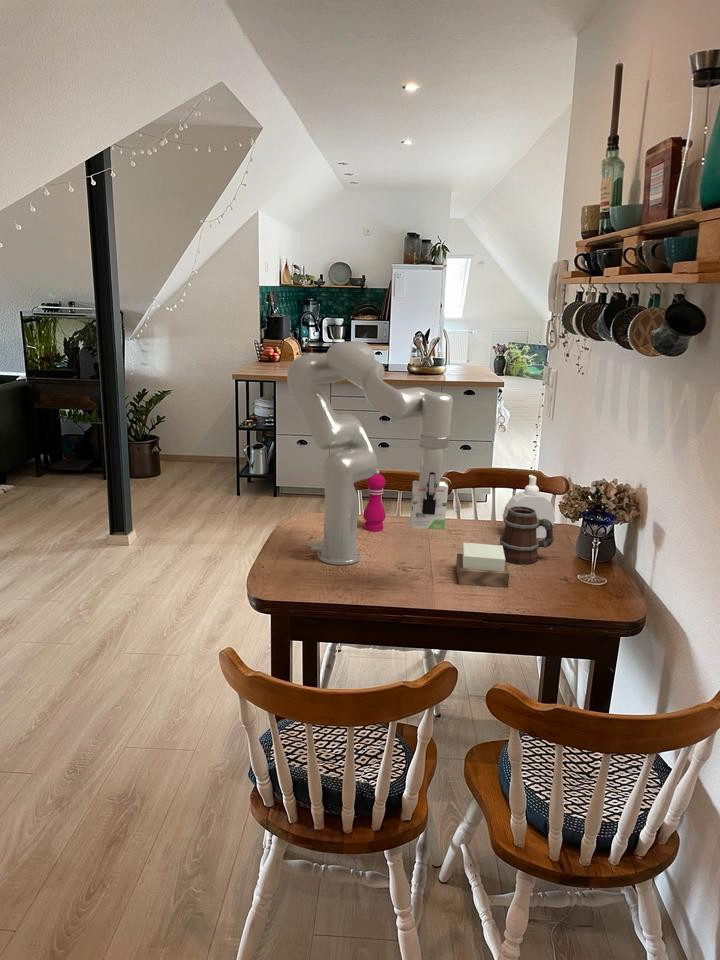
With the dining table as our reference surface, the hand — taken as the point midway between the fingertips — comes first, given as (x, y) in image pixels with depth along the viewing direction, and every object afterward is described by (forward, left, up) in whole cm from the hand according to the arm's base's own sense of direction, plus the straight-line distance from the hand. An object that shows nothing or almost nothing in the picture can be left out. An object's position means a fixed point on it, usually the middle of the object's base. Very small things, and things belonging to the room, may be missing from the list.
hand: (428, 509), depth 190 cm
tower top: (+17, +10, -17) cm, 26 cm away
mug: (+31, +27, -22) cm, 47 cm away
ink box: (0, 0, -5) cm, 5 cm away
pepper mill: (-15, +46, -22) cm, 53 cm away
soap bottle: (+35, +48, -22) cm, 63 cm away
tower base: (+17, +10, -22) cm, 29 cm away
